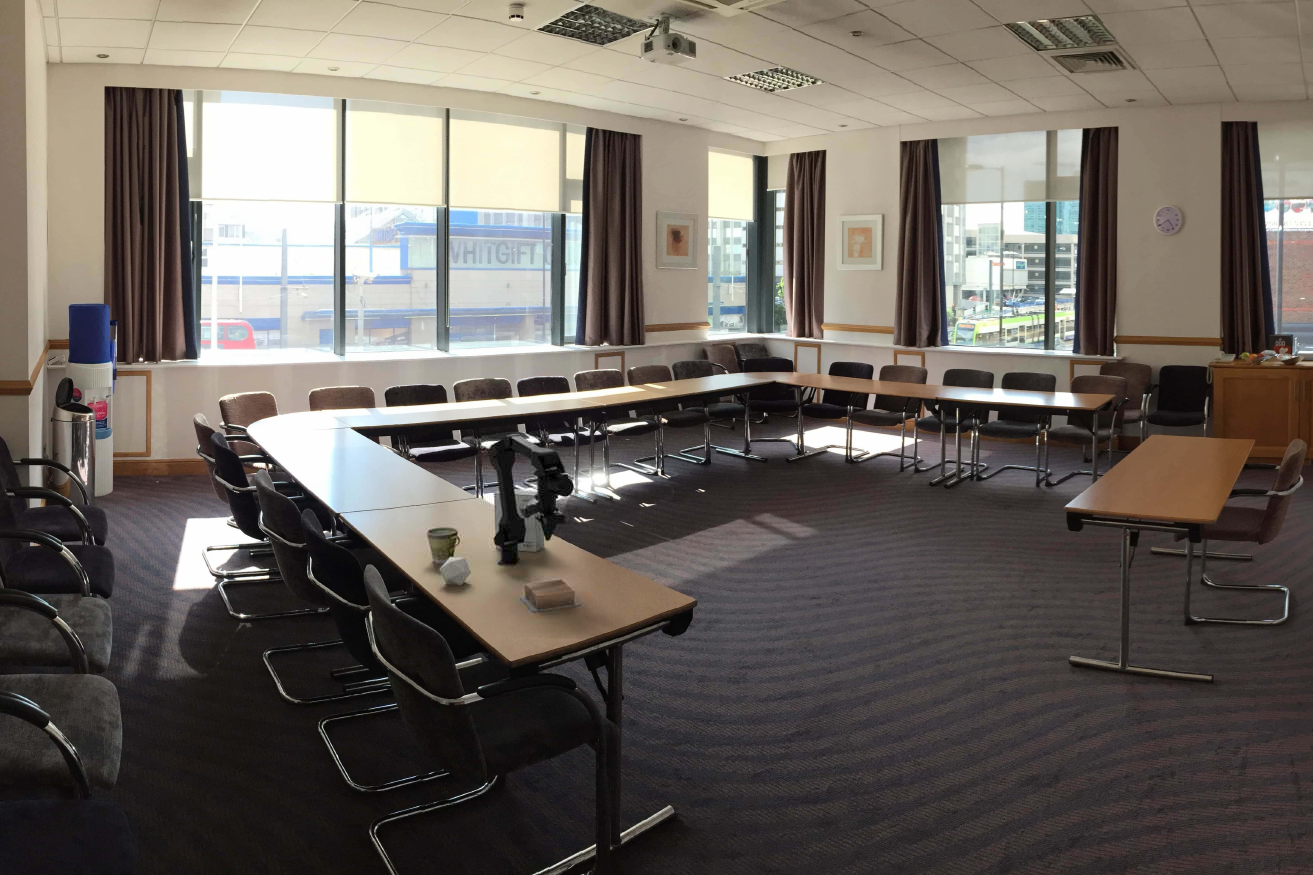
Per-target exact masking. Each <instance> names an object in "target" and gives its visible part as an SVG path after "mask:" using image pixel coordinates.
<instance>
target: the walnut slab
mask: <svg viewBox="0 0 1313 875" xmlns="http://www.w3.org/2000/svg"><path fill="white" fill-rule="evenodd" d="M524 598H526V599H527V600H528V601H529V602H530V603H531V604H532V605H533V606H534V607H535V608H536V609H537V610H540V609H547V608H554V607H560V606H567V605H574V599H575V590H574V589H573V588H571V587H570V586H569V585H568V584H567V583H566V582H565V581H563V580H562V579H561V578H557V579H550V580H543V581H537V582H536V581H535V582H527V583H524Z"/></svg>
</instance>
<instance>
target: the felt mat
mask: <svg viewBox="0 0 1313 875" xmlns="http://www.w3.org/2000/svg"><path fill="white" fill-rule="evenodd" d="M519 599H520V600H521V601H522V602H523V603H524V605H525V606H526V607H527V608H528V609H529V610H530V611H531V612H532V613H537V612H544V611H550V610H551V611H552V610H558V609H565V608H573V607H578V606H579V607H580V606H581V604H580V603H579V602H578V601H577V600H576V599H575V598H574V605H567V606H560V607H554V608H547V609H540V610H537V609H536V608H535V607H534V606H533V605H532V604H531V603H530V602H529V601H528V600H527V599H526V598H525V597H520V598H519Z"/></svg>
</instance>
